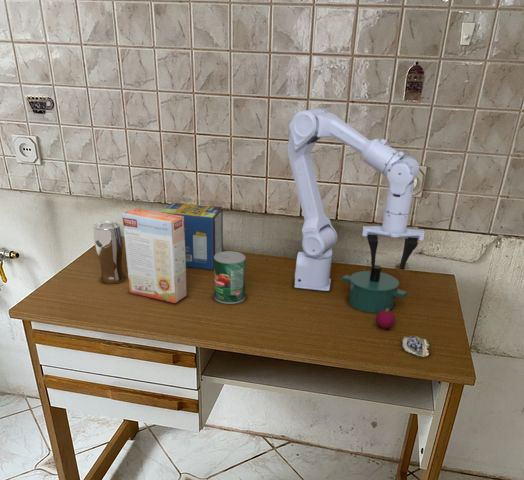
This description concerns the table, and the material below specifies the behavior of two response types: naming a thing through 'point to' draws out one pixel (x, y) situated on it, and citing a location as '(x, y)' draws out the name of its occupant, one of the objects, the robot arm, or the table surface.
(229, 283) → the canned tomato
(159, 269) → the cracker box
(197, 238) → the protein box
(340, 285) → the table surface
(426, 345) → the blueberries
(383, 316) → the beet
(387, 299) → the pot
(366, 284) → the lid
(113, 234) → the beer glass
